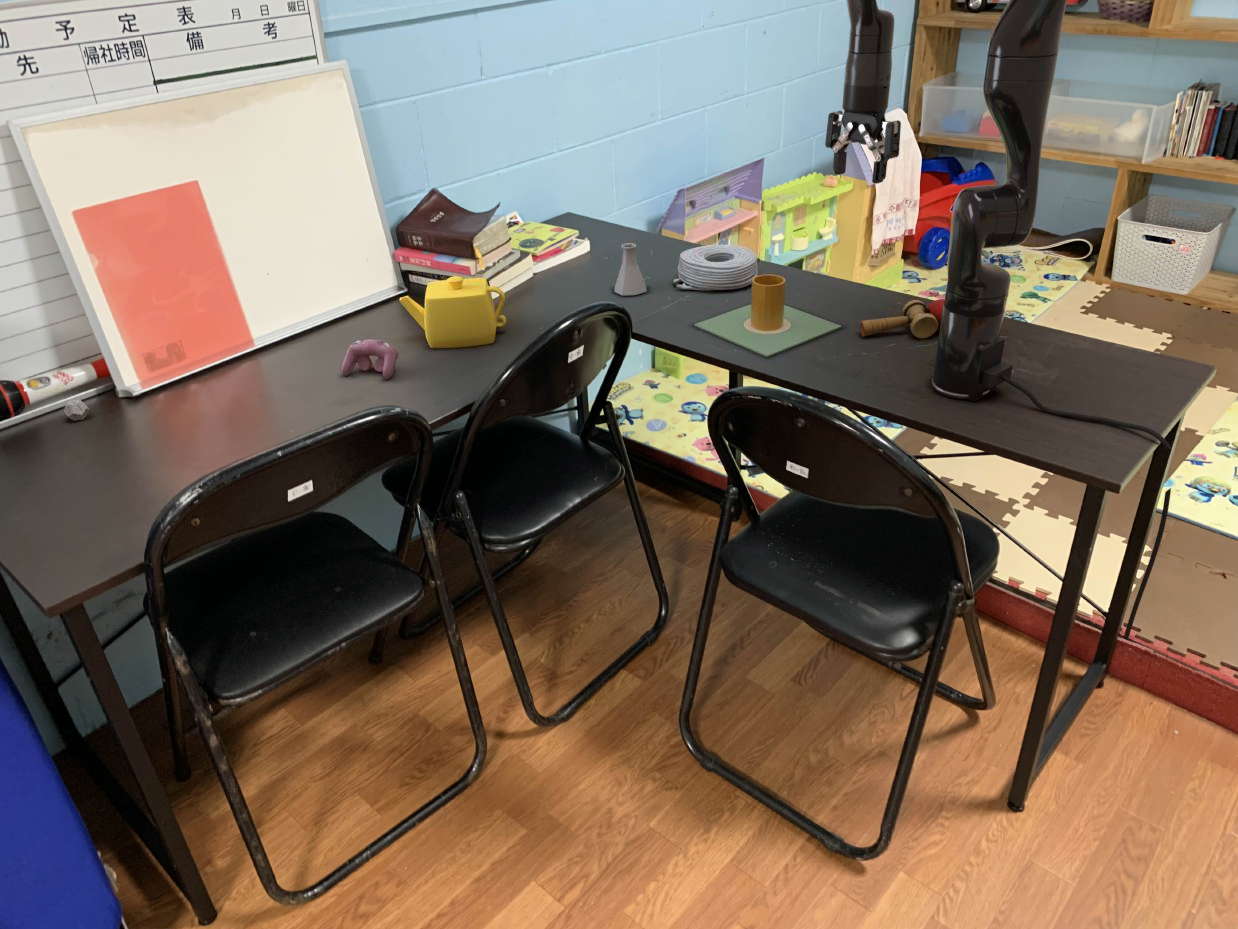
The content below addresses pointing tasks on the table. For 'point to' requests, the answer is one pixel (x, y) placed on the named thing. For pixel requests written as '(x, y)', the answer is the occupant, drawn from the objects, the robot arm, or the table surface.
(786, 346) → the mat
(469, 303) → the teapot
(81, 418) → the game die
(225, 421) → the table surface
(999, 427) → the table surface
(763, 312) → the cup
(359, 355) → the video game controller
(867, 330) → the kendama
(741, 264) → the cable
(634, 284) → the flask
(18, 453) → the table surface
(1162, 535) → the robot arm
